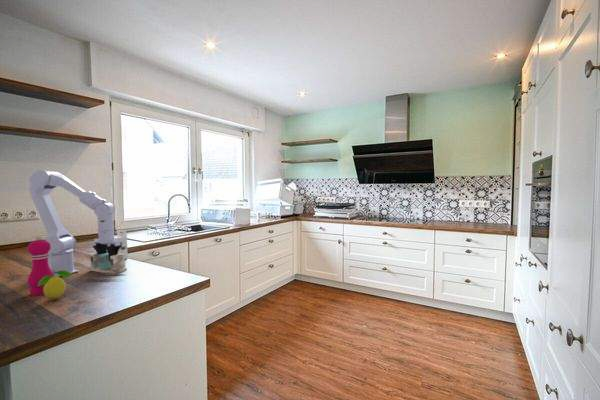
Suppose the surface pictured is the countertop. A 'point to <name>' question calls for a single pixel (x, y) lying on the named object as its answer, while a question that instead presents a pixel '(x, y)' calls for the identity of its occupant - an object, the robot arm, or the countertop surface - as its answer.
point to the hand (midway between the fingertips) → (107, 260)
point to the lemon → (54, 284)
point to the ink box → (122, 242)
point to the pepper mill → (38, 264)
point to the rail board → (116, 264)
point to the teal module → (104, 261)
